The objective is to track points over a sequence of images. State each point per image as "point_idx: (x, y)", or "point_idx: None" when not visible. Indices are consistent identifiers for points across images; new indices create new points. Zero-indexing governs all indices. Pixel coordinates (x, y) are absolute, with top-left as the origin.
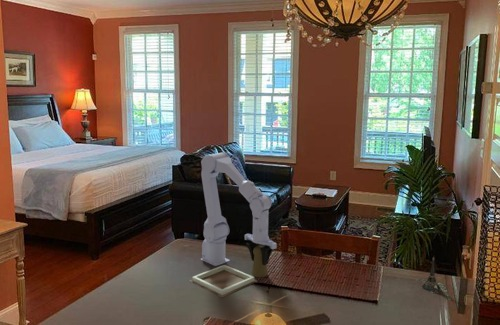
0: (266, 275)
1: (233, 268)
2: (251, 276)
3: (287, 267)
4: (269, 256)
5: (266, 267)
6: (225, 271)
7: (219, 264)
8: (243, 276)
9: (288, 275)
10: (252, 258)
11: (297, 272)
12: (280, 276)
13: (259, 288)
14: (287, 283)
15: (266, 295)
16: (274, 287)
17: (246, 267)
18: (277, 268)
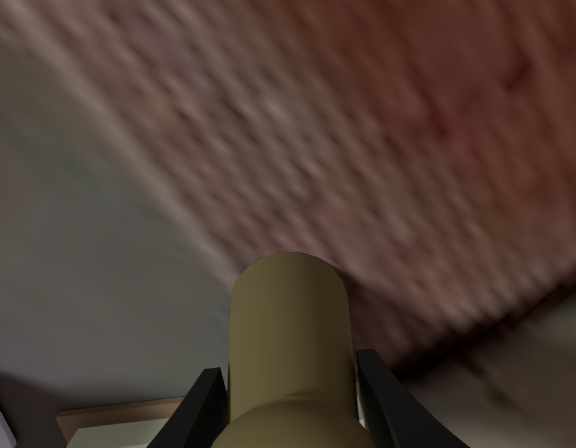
0: (345, 290)
1: None
2: None
3: (321, 10)
4: (421, 410)
5: (339, 313)
6: None
7: (3, 424)
8: None
9: (449, 136)
10: None
11: (468, 15)
12: (414, 203)
13: (440, 412)
14: (532, 242)
15: (528, 430)
16: (500, 344)
17: (124, 302)
18: (280, 113)
